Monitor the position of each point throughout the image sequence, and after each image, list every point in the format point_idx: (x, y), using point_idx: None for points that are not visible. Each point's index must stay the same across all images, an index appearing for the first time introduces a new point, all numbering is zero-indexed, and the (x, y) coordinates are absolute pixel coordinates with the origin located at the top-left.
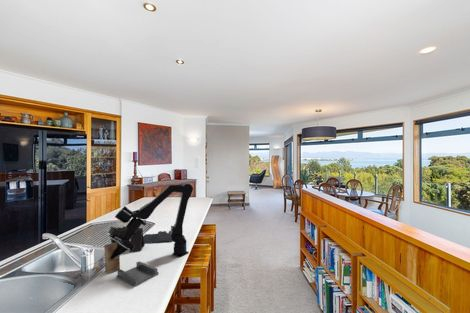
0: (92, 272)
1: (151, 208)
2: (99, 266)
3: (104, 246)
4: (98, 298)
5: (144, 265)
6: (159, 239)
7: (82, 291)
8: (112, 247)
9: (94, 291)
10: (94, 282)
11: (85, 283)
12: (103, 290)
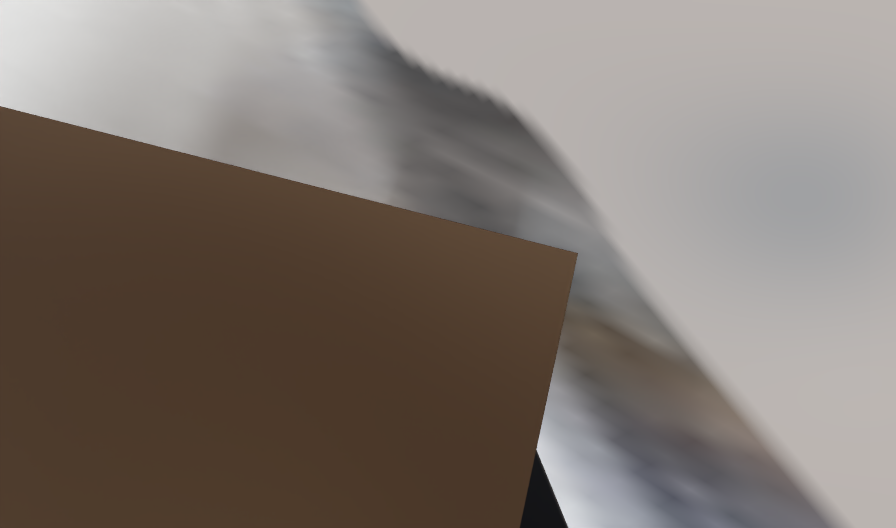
0: (588, 259)
1: None
2: (700, 422)
3: (546, 271)
4: (12, 7)
5: None
6: None
7: (268, 2)
8: None
9: (148, 47)
10: (311, 135)
11: (389, 84)
12: (69, 92)
